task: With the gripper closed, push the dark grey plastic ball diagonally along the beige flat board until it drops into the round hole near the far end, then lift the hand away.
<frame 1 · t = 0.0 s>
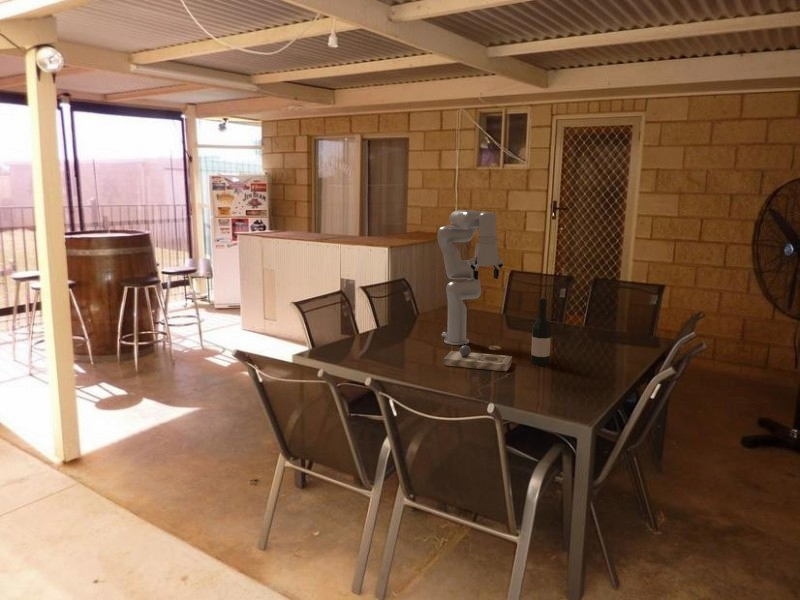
hand: (485, 278, 271), 37 cm above the table, tool pointing down, fingers open, 9 cm apart
wine bottle: (540, 363, 272), on the table
beige flat board: (478, 363, 271), on the table
ball: (465, 350, 272), point 5 cm above the table, touching beige flat board
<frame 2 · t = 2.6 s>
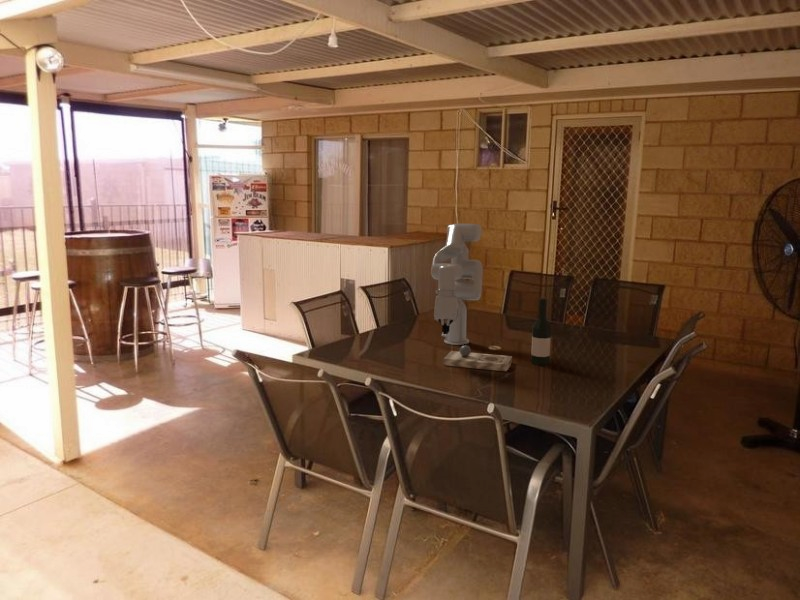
hand: (445, 333, 273), 13 cm above the table, tool pointing down, fingers closed
nothing on the table moved.
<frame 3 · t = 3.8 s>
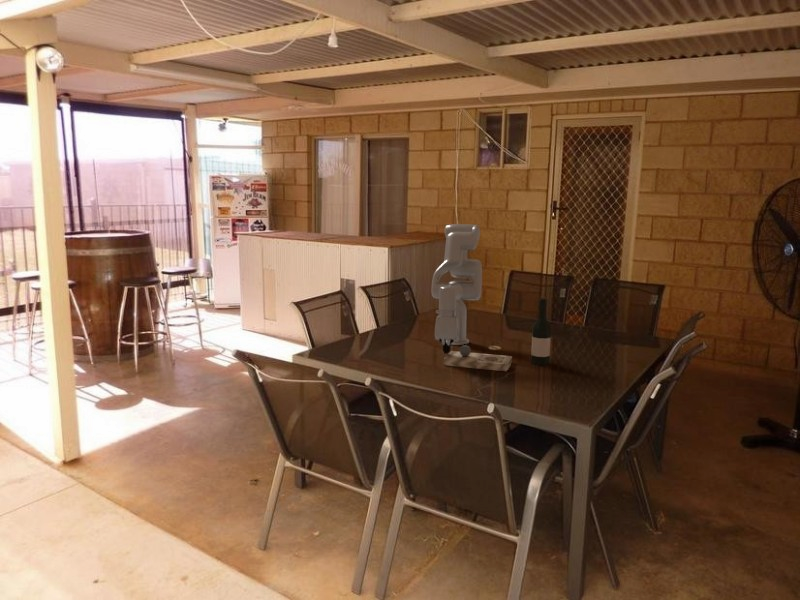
hand: (446, 353, 275), 4 cm above the table, tool pointing down, fingers closed
nothing on the table moved.
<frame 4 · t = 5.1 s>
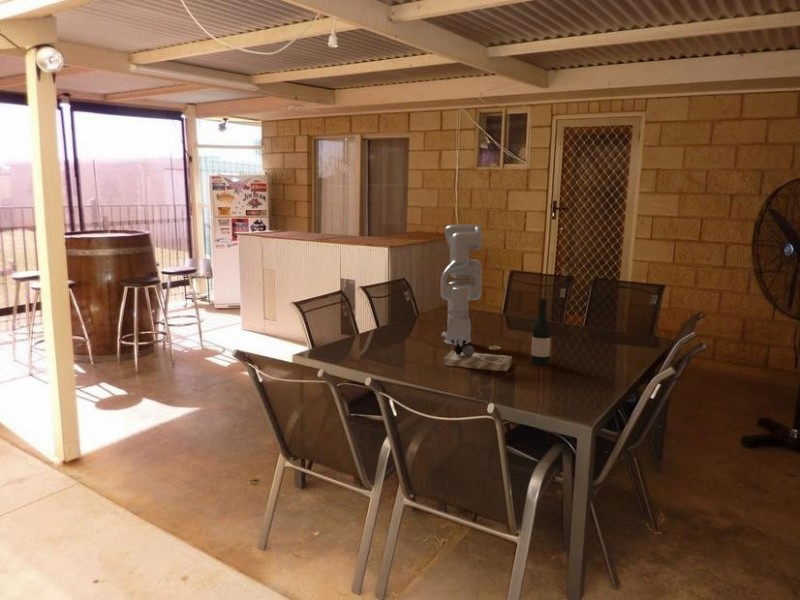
hand: (458, 354, 273), 4 cm above the table, tool pointing down, fingers closed
ball: (468, 351, 271), point 6 cm above the table, tilted 19°
everything else where it was.
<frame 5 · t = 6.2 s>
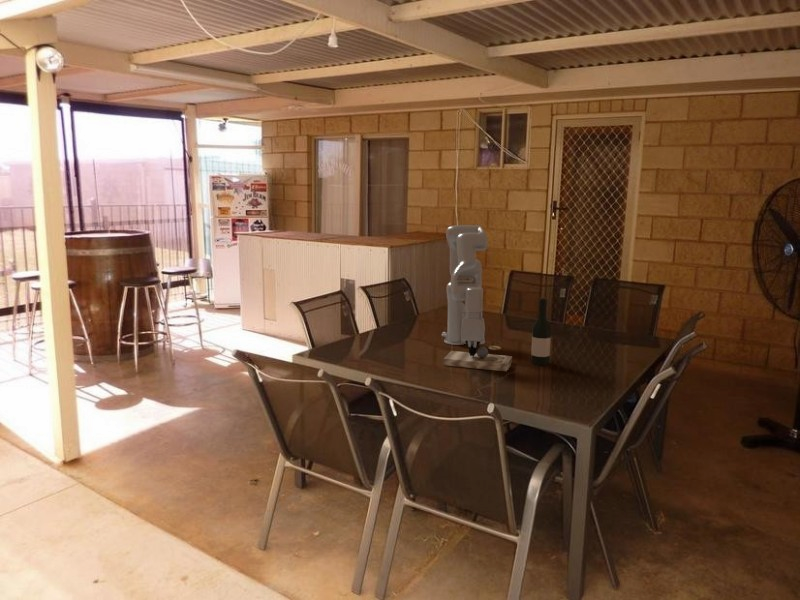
hand: (472, 355, 271), 4 cm above the table, tool pointing down, fingers closed
ball: (482, 352, 269), point 6 cm above the table, tilted 45°, touching gripper
everything else where it was.
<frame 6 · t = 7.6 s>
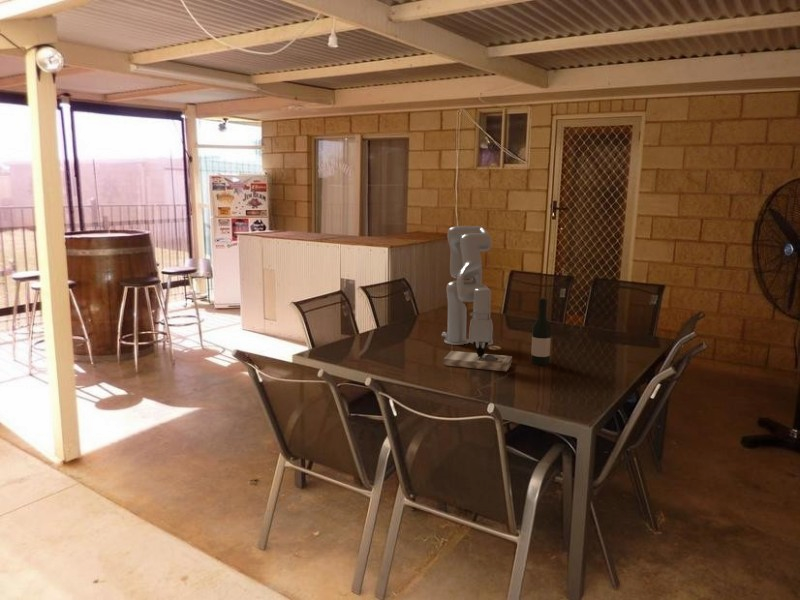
hand: (480, 356, 270), 4 cm above the table, tool pointing down, fingers closed
ball: (489, 359, 269), point 2 cm above the table, tilted 124°
everything else where it was.
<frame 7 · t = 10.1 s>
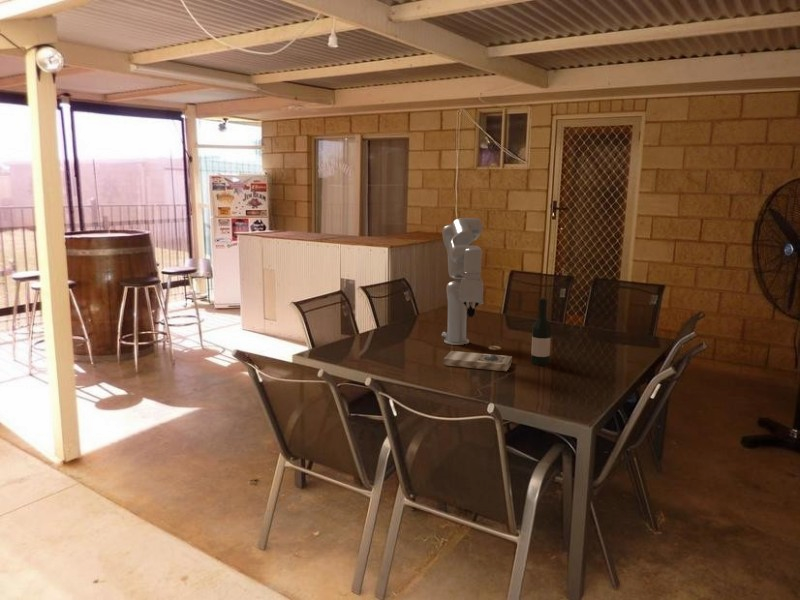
hand: (470, 316, 271), 21 cm above the table, tool pointing down, fingers closed
ball: (492, 360, 268), point 2 cm above the table, tilted 149°
everything else where it was.
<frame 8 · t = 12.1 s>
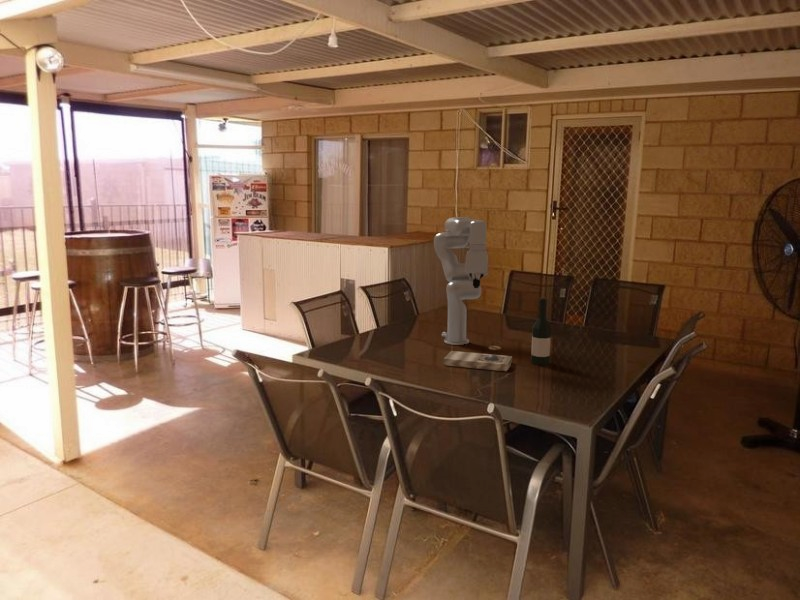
hand: (476, 287, 279), 32 cm above the table, tool pointing down, fingers closed
ball: (493, 360, 268), point 2 cm above the table, tilted 155°
everything else where it was.
at the end: ball 0.7 cm from the target spot on the beige flat board, point 2.5 cm above the beige flat board's base; ball moved 13.0 cm from its start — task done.
